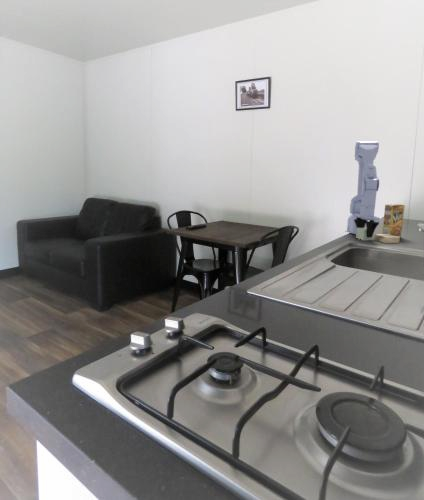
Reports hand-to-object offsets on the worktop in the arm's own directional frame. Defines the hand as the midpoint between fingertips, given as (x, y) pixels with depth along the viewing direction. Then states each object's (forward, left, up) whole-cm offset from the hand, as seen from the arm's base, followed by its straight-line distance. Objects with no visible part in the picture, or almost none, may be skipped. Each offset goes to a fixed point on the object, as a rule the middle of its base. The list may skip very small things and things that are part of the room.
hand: (364, 236), depth 169 cm
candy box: (-3, +17, -2) cm, 17 cm away
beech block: (+6, +7, -2) cm, 9 cm away
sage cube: (0, 0, -2) cm, 2 cm away
